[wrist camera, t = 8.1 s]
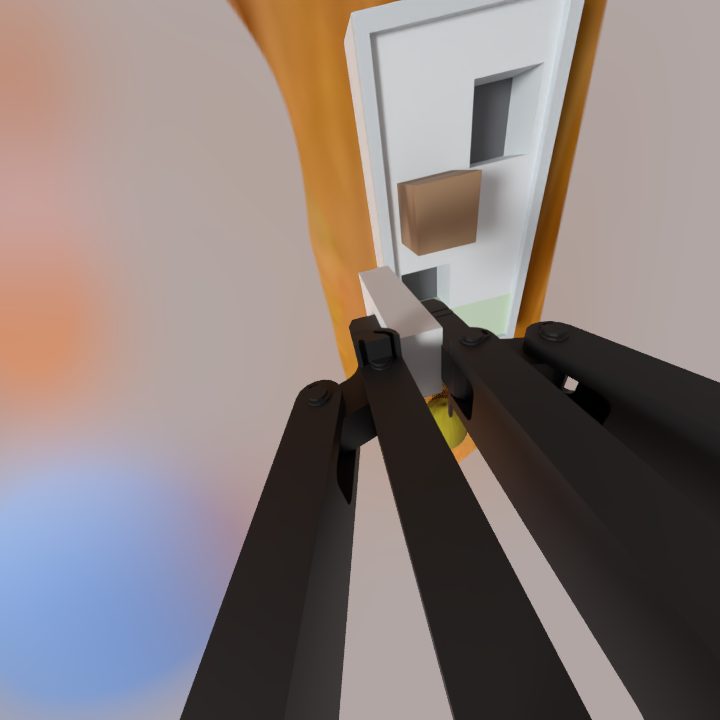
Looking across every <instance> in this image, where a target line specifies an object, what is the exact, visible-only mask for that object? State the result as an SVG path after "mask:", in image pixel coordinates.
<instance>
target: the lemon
mask: <svg viewBox="0 0 720 720" xmlns="http://www.w3.org/2000/svg"><path fill="white" fill-rule="evenodd" d="M427 405H428V407H429V409H430V411H431V413H432V415H433V417H434V419H435V421H436V423H437V424H438V426H439V428H440V430H441V432H442V434H443V436H444V438H445V440H446V442H447V444H448V445H449V447H450V449H452V448H454V447H456V446H458V445H459V444H460V443H462V441H463V440H464V438H465V437H466V435H467V430H466V428H465V427H464V425H463V424H462V422H461V420H460V419H459V417H458V416H457V414H456V412H455V411H454V409H453V417H450V418H449V414H448V398H436V399H434V400H432V401H430V402H429V403H428V404H427Z"/></svg>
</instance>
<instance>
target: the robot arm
mask: <svg viewBox="0 0 720 720" xmlns="http://www.w3.org/2000/svg"><path fill="white" fill-rule="evenodd" d="M359 277H360V282H361V287H362V292H363V297H364V302H365V307H366V312H367V316H366V317H362V318H358V319H354V320H352V321H351V324H350V326H349V330H350V333H351V337H352V341H353V345H354V349H355V353H356V357H357V360H358V368H357V371H356V372H355V374H354V375H353V376H352V377H350V378H349V379H348V380H346V381H344V382H342V383H341V384H339V385H338V383H336V382H334V381H331V380H320V381H316V382H314V383H311V384H309V385H307V386H306V387H305V388H304V389H302V390H301V391H300V393H299V395H298V396H297V398H296V401H295V403H294V406H293V409H292V411H291V414H290V417H289V420H288V422H287V425H286V428H285V431H284V434H283V436H282V439H281V442H280V445H279V448H278V450H277V453H276V456H275V458H274V461H273V464H272V467H271V470H270V472H269V475H268V478H267V480H266V483H265V486H264V489H263V491H262V494H261V497H260V500H259V502H258V505H257V508H256V511H255V513H254V517H253V519H252V522H251V525H250V527H249V530H248V533H247V536H246V539H245V541H244V544H243V547H242V549H241V552H240V555H239V558H238V560H237V564H236V566H235V569H234V571H233V574H232V577H231V580H230V582H229V585H228V588H227V591H226V594H225V597H224V599H223V602H222V605H221V607H220V610H219V613H218V616H217V618H216V621H215V624H214V627H213V630H212V632H211V635H210V638H209V640H208V643H207V646H206V649H205V652H204V654H203V657H202V660H201V663H200V665H199V668H198V671H197V674H196V676H195V679H194V682H193V685H192V688H191V690H190V693H189V696H188V698H187V701H186V704H185V707H184V710H183V712H182V715H181V718H180V720H339V710H340V698H341V684H342V672H343V659H344V647H345V634H346V622H347V608H348V596H349V584H350V571H351V559H352V546H353V533H354V521H355V507H356V495H357V482H358V469H359V457H360V446H362V445H363V444H365V443H366V442H368V441H370V440H371V439H373V438H374V437H376V436H378V440H379V444H380V447H381V451H382V455H383V459H384V462H385V466H386V470H387V473H388V477H389V481H390V485H391V488H392V492H393V496H394V500H395V503H396V507H397V511H398V515H399V518H400V522H401V526H402V530H403V533H404V537H405V541H406V545H407V548H408V552H409V556H410V560H411V563H412V567H413V571H414V574H415V578H416V582H417V586H418V589H419V593H420V597H421V601H422V604H423V608H424V612H425V616H426V619H427V623H428V627H429V631H430V634H431V637H432V641H433V645H434V649H435V653H436V656H437V660H438V664H439V668H440V672H441V675H442V679H443V683H444V687H445V690H446V694H447V698H448V702H449V705H450V709H451V712H452V716H453V720H592V719H591V717H590V715H589V713H588V711H587V710H586V707H585V706H584V704H583V702H582V700H581V698H580V696H579V694H578V692H577V690H576V688H575V687H574V684H573V683H572V681H571V679H570V677H569V675H568V673H567V671H566V669H565V667H564V665H563V663H562V662H561V660H560V658H559V656H558V654H557V652H556V650H555V648H554V646H553V644H552V642H551V641H550V639H549V637H548V635H547V633H546V631H545V629H544V627H543V625H542V623H541V622H540V619H539V618H538V616H537V614H536V612H535V610H534V608H533V606H532V604H531V602H530V600H529V598H528V597H527V595H526V593H525V591H524V589H523V587H522V585H521V583H520V582H519V579H518V577H517V575H516V574H515V572H514V570H513V568H512V566H511V564H510V562H509V560H508V559H507V557H506V554H505V553H504V551H503V549H502V547H501V545H500V543H499V541H498V539H497V537H496V535H495V533H494V532H493V530H492V528H491V526H490V524H489V522H488V520H487V518H486V516H485V514H484V512H483V510H482V509H481V507H480V505H479V503H478V501H477V499H476V497H475V495H474V493H473V491H472V489H471V488H470V486H469V484H468V482H467V480H466V478H465V476H464V474H463V472H462V471H461V468H460V466H459V465H458V463H457V461H456V459H455V457H454V455H453V453H452V451H451V449H450V447H449V445H448V444H447V442H446V440H445V438H444V436H443V434H442V432H441V430H440V428H439V426H438V424H437V423H436V421H435V419H434V417H433V415H432V413H431V411H430V409H429V407H428V405H427V403H426V401H425V400H424V398H423V397H426V396H430V395H434V394H438V393H442V392H443V382H444V384H445V385H446V387H447V388H448V414H449V418H450V417H453V409H454V411H455V412H456V414H457V416H458V417H459V419H460V420H461V422H462V424H463V425H464V427H465V428H466V430H467V432H468V433H469V435H470V437H471V438H472V440H473V441H474V443H475V445H476V446H477V448H478V449H479V451H480V453H481V454H482V456H483V458H484V459H485V461H486V462H487V464H488V466H489V467H490V469H491V470H492V472H493V474H494V475H495V477H496V479H497V480H498V482H499V483H500V485H501V486H502V488H503V490H504V492H505V493H506V495H507V496H508V498H509V500H510V501H511V503H512V504H513V506H514V508H515V509H516V511H517V513H518V514H519V516H520V517H521V519H522V521H523V522H524V524H525V526H526V527H527V529H528V530H529V532H530V534H531V535H532V537H533V538H534V540H535V542H536V543H537V545H538V547H539V548H540V550H541V551H542V553H543V555H544V556H545V558H546V559H547V561H548V563H549V564H550V566H551V568H552V569H553V571H554V572H555V574H556V576H557V577H558V579H559V581H560V582H561V584H562V585H563V587H564V588H565V590H566V592H567V593H568V595H569V596H570V598H571V600H572V602H573V603H574V605H575V606H576V608H577V610H578V611H579V613H580V614H581V616H582V618H583V619H584V621H585V623H586V624H587V626H588V627H589V629H590V631H591V632H592V634H593V636H594V637H595V639H596V640H597V642H598V644H599V645H600V647H601V648H602V650H603V652H604V653H605V655H606V657H607V658H608V660H609V661H610V663H611V665H612V666H613V668H614V670H615V671H616V673H617V674H618V676H619V678H620V679H621V680H622V682H623V684H624V686H625V687H626V689H627V691H628V692H629V694H630V695H631V697H632V699H633V700H634V702H635V704H636V705H637V707H638V709H639V711H640V712H641V714H642V716H643V718H644V720H720V383H719V382H717V381H714V380H711V379H709V378H706V377H704V376H701V375H698V374H696V373H693V372H691V371H688V370H685V369H683V368H680V367H677V366H675V365H672V364H670V363H667V362H665V361H662V360H659V359H657V358H654V357H652V356H649V355H647V354H644V353H641V352H639V351H636V350H634V349H631V348H628V347H626V346H623V345H621V344H618V343H615V342H613V341H610V340H608V339H605V338H602V337H600V336H597V335H595V334H592V333H589V332H587V331H584V330H582V329H579V328H577V327H574V326H571V325H568V324H564V323H561V322H553V321H547V322H546V321H545V322H538V323H534V324H532V325H530V326H529V327H527V329H526V333H525V337H524V338H507V339H500V338H499V337H497V336H496V335H495V334H494V333H492V332H491V331H489V330H487V329H483V328H479V327H469V326H468V325H467V324H466V323H465V322H464V321H463V320H462V319H461V318H459V317H458V316H457V315H456V314H454V312H453V311H452V310H451V309H449V307H448V306H447V305H446V304H445V303H443V302H442V301H439V300H436V299H433V298H432V299H428V300H424V301H421V302H420V301H419V300H418V299H417V298H416V297H415V296H414V295H413V294H412V292H411V291H410V290H409V289H408V288H407V287H406V286H405V285H404V283H403V282H402V281H401V280H400V279H399V278H398V277H397V276H396V274H395V273H394V272H393V271H392V270H391V269H390V268H389V266H388V265H387V266H383V267H379V268H376V269H372V270H368V271H364V272H360V273H359ZM568 376H569V377H571V378H573V379H574V380H576V381H578V382H579V383H578V385H577V387H576V390H575V391H573V390H572V391H571V390H568V389H566V388H564V385H565V383H566V380H567V378H568Z"/></svg>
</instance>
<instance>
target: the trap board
mask: <svg viewBox="0 0 720 720" xmlns="http://www.w3.org/2000/svg"><path fill="white" fill-rule="evenodd" d="M584 1H585V0H401V1H397V2H393V3H388V4H384V5H380V6H376V7H372V8H368V9H364V10H359V11H355V12H351V16H350V20H349V24H348V28H347V32H346V36H345V40H344V46H345V53H346V59H347V66H348V73H349V79H350V86H351V93H352V99H353V106H354V113H355V119H356V126H357V133H358V139H359V146H360V153H361V160H362V166H363V173H364V180H365V186H366V193H367V200H368V206H369V213H370V220H371V226H372V233H373V240H374V247H375V253H376V260H377V267H378V268H379V267H383V266H387V265H388V266H389V268H390V269H391V270H392V271H393V272H394V273H395V274H396V276H397V277H398V278H399V279H400V280H401V281H402V282H403V283H404V285H405V286H406V287H407V288H408V289H409V290H410V291H411V292H412V294H413V295H414V296H415V297H416V298H417V299H418V300H419V301H420V302H421V301H424V300H428V299H432V298H433V299H436V300H439V301H442V302H443V303H445V304H446V305H447V306H448V307H449V309H451V310H452V311H453V312H454V314H456V315H457V316H458V317H459V318H461V319H462V320H463V321H464V322H465V323H466V324H467V325H468V326H469V327H479V328H483V329H487V330H489V331H491V332H492V333H494V334H495V335H496V336H497V337H499V338H500V339H507V338H513V337H514V332H515V327H516V323H517V318H518V313H519V308H520V304H521V299H522V294H523V289H524V285H525V280H526V275H527V271H528V266H529V261H530V256H531V252H532V247H533V242H534V237H535V233H536V228H537V223H538V218H539V214H540V209H541V204H542V200H543V195H544V190H545V185H546V181H547V176H548V171H549V166H550V162H551V157H552V152H553V147H554V143H555V138H556V133H557V129H558V124H559V119H560V114H561V110H562V105H563V100H564V95H565V91H566V86H567V81H568V76H569V72H570V67H571V62H572V58H573V53H574V48H575V43H576V39H577V34H578V29H579V24H580V20H581V15H582V10H583V5H584ZM450 170H482V176H481V188H480V199H479V211H478V223H477V234H476V242H475V243H471V244H467V245H463V246H458V247H454V248H450V249H446V250H442V251H438V252H434V253H430V254H426V255H422V256H418V255H416V254H415V253H414V252H412V251H411V250H410V249H409V248H407V247H406V246H405V245H403V244H402V241H401V229H400V217H399V204H398V192H397V183H401V182H405V181H409V180H413V179H417V178H421V177H425V176H430V175H434V174H438V173H442V172H446V171H450Z"/></svg>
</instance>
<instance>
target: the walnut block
mask: <svg viewBox="0 0 720 720" xmlns="http://www.w3.org/2000/svg"><path fill="white" fill-rule="evenodd" d="M481 176H482V170H450V171H446V172H442V173H438V174H434V175H430V176H425V177H421V178H417V179H413V180H409V181H405V182H401V183H397V192H398V204H399V217H400V229H401V241H402V244H403V245H405V246H406V247H407V248H409V249H410V250H411V251H412V252H414V253H415V254H416V255H418V256H422V255H426V254H430V253H434V252H438V251H442V250H446V249H450V248H454V247H458V246H463V245H467V244H471V243H475V242H476V234H477V223H478V211H479V199H480V188H481Z"/></svg>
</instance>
